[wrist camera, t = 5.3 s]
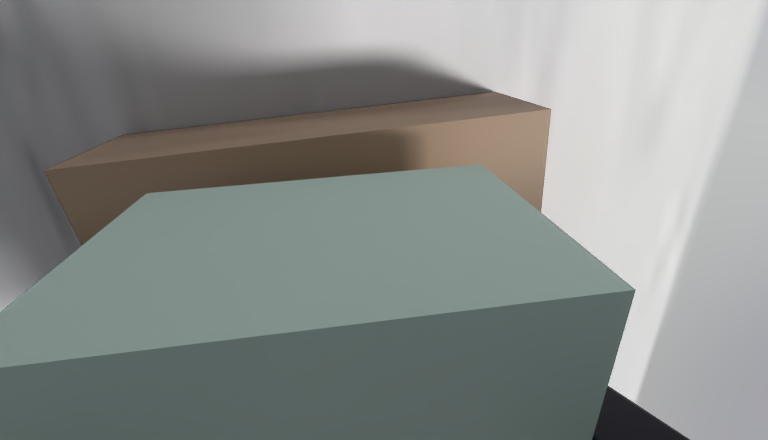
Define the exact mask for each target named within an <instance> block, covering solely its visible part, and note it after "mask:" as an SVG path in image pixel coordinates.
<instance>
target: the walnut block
mask: <svg viewBox="0 0 768 440" xmlns="http://www.w3.org/2000/svg"><path fill="white" fill-rule="evenodd" d="M550 115H551V109H549V108H546V107H542V106H539V105H536V104H533V103H530V102H526V101H523V100H520V99H517V98H513V97H510V96H507V95H504V94H501V93H497V92H489V93H480V94H472V95H463V96H454V97H446V98H437V99H429V100H420V101H411V102H403V103H394V104H385V105H377V106H368V107H360V108H351V109H342V110H334V111H325V112H317V113H308V114H299V115H291V116H282V117H274V118H265V119H256V120H248V121H239V122H230V123H222V124H213V125H205V126H196V127H187V128H179V129H170V130H162V131H153V132H144V133H136V134H127V135H122V136H120V137H117V138H115V139H113V140H111V141H108V142H106V143H104V144H102V145H99V146H97V147H95V148H93V149H91V150H88V151H86V152H84V153H82V154H79V155H77V156H75V157H73V158H71V159H68V160H66V161H64V162H62V163H59V164H57V165H55V166H53V167H50V168H48V169H46V170H44V172H45V174H46V176H47V178H48V180H49V182H50V184H51V186H52V188H53V190H54V192H55V194H56V196H57V197H58V199H59V201H60V203H61V205H62V207H63V209H64V211H65V213H66V215H67V217H68V219H69V221H70V223H71V225H72V227H73V229H74V231H75V233H76V235H77V237H78V239H79V241H80V242H81V244H82V245H84V244H85V243H86V242H87V241H88V240H90V239H91V238H92V237H93V236H95V235H96V234H97V233H98V232H99V231H101V230H102V229H103V228H104V227H106V226H107V225H108V224H109V223H111V222H112V221H113V220H114V219H115V218H117V217H118V216H119V215H120V214H122V213H123V212H124V211H125V210H127V209H128V208H129V207H130V206H131V205H133V204H134V203H135V202H136V201H138V200H139V199H140V198H141V197H143V196H144V195H145V194H146V193H155V192H167V191H178V190H190V189H201V188H213V187H224V186H236V185H247V184H259V183H270V182H282V181H293V180H305V179H316V178H328V177H339V176H351V175H362V174H374V173H385V172H397V171H408V170H420V169H431V168H443V167H454V166H466V165H477V164H482V165H483V166H485V167H486V168H487V169H488V170H489V171H491V172H492V173H493V174H494V175H496V176H497V177H498V178H499V179H500V180H502V181H503V182H504V183H505V184H507V185H508V186H509V187H510V188H511V189H513V190H514V191H515V192H516V193H518V194H519V195H520V196H521V197H522V198H524V199H525V200H526V201H527V202H529V203H530V204H531V205H532V206H533V207H535V208H536V209H537V210H538V211H540V212H541V206H542V196H543V186H544V176H545V165H546V155H547V145H548V135H549V125H550Z"/></svg>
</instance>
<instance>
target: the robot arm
mask: <svg viewBox="0 0 768 440" xmlns="http://www.w3.org/2000/svg"><path fill="white" fill-rule="evenodd" d="M592 440H690V439H688V438H687V437H685V436H683V435H682V434H680V433H679V432H677V431H676V430H674V429H673V428H671V427H670V426H668V425H667V424H665V423H664V422H662V421H661V420H659V419H658V418H656V417H655V416H653V415H652V414H650V413H649V412H647V411H646V410H644V409H643V408H641V407H640V406H638V405H637V404H635V403H633V402H632V401H630V400H629V399H627V398H626V397H624V396H623V395H621V394H620V393H618V392H617V391H615V390H614V389H612V388H611V387H609V386H607V390H606V393H605V396H604V400H603V403H602V407H601V410H600V414H599V417H598V421H597V424H596V427H595V431H594V434H593V438H592Z"/></svg>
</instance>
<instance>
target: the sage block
mask: <svg viewBox="0 0 768 440" xmlns="http://www.w3.org/2000/svg"><path fill="white" fill-rule="evenodd" d="M634 293H635V289H634V288H633V287H631V286H630V285H629V284H628V283H627V282H625V281H624V280H623V279H622V278H620V277H619V276H618V275H617V274H616V273H614V272H613V271H612V270H611V269H609V268H608V267H607V266H606V265H605V264H603V263H602V262H601V261H600V260H598V259H597V258H596V257H595V256H593V255H592V254H591V253H590V252H589V251H587V250H586V249H585V248H584V247H582V246H581V245H580V244H579V243H578V242H576V241H575V240H574V239H573V238H571V237H570V236H569V235H568V234H567V233H565V232H564V231H563V230H562V229H560V228H559V227H558V226H557V225H556V224H554V223H553V222H552V221H551V220H549V219H548V218H547V217H546V216H545V215H543V214H542V213H541V212H540V211H538V210H537V209H536V208H535V207H533V206H532V205H531V204H530V203H529V202H527V201H526V200H525V199H524V198H522V197H521V196H520V195H519V194H518V193H516V192H515V191H514V190H513V189H511V188H510V187H509V186H508V185H507V184H505V183H504V182H503V181H502V180H500V179H499V178H498V177H497V176H496V175H494V174H493V173H492V172H491V171H489V170H488V169H487V168H486V167H485V166H483V165H482V164H477V165H466V166H454V167H443V168H431V169H420V170H408V171H397V172H385V173H374V174H362V175H351V176H339V177H328V178H316V179H305V180H293V181H282V182H270V183H259V184H247V185H236V186H224V187H213V188H201V189H190V190H178V191H167V192H155V193H146V194H145V195H144V196H143V197H141V198H140V199H139V200H138V201H136V202H135V203H134V204H133V205H131V206H130V207H129V208H128V209H127V210H125V211H124V212H123V213H122V214H120V215H119V216H118V217H117V218H115V219H114V220H113V221H112V222H111V223H109V224H108V225H107V226H106V227H104V228H103V229H102V230H101V231H99V232H98V233H97V234H96V235H95V236H93V237H92V238H91V239H90V240H88V241H87V242H86V243H85V244H84V245H82V246H81V247H80V248H79V249H77V250H76V251H75V252H74V253H72V254H71V255H70V256H69V257H68V258H66V259H65V260H64V261H63V262H61V263H60V264H59V265H58V266H56V267H55V268H54V269H53V270H52V271H50V272H49V273H48V274H47V275H45V276H44V277H43V278H42V279H41V280H39V281H38V282H37V283H36V284H34V285H33V286H32V287H31V288H29V289H28V290H27V291H26V292H25V293H23V294H22V295H21V296H20V297H18V298H17V299H16V300H15V301H13V302H12V303H11V304H10V305H9V306H7V307H6V308H5V309H4V310H2V311H1V312H0V440H592V438H593V434H594V431H595V427H596V424H597V421H598V417H599V414H600V410H601V407H602V403H603V400H604V396H605V393H606V390H607V386H608V383H609V379H610V376H611V372H612V369H613V365H614V362H615V359H616V355H617V352H618V348H619V345H620V341H621V338H622V335H623V331H624V328H625V324H626V321H627V317H628V314H629V310H630V307H631V304H632V300H633V297H634Z"/></svg>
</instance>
